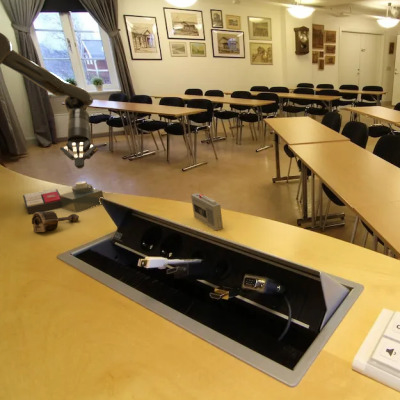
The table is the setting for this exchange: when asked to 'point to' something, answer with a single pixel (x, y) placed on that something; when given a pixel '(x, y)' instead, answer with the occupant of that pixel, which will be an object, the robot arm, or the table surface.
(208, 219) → the cassette player
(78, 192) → the olive block with knob
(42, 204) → the dark box with panels
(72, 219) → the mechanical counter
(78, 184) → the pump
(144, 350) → the table surface
